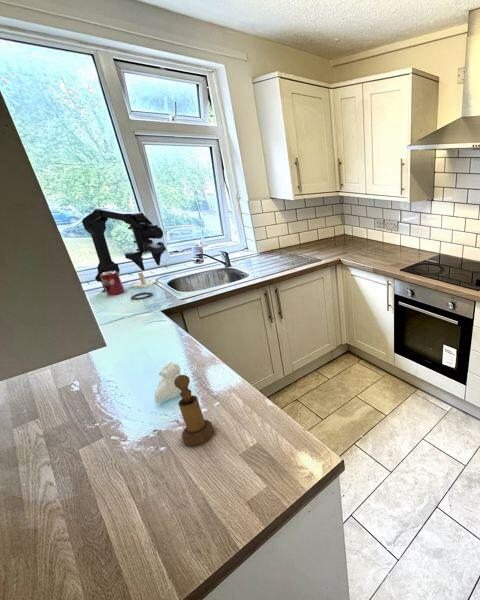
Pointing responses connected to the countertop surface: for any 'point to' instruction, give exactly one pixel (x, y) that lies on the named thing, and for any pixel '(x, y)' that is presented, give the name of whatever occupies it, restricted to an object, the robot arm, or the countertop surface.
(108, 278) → the soda can
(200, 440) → the mortar and pestle
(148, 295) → the hoop
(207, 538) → the countertop surface
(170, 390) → the bust
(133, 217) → the robot arm
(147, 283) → the peg stand
